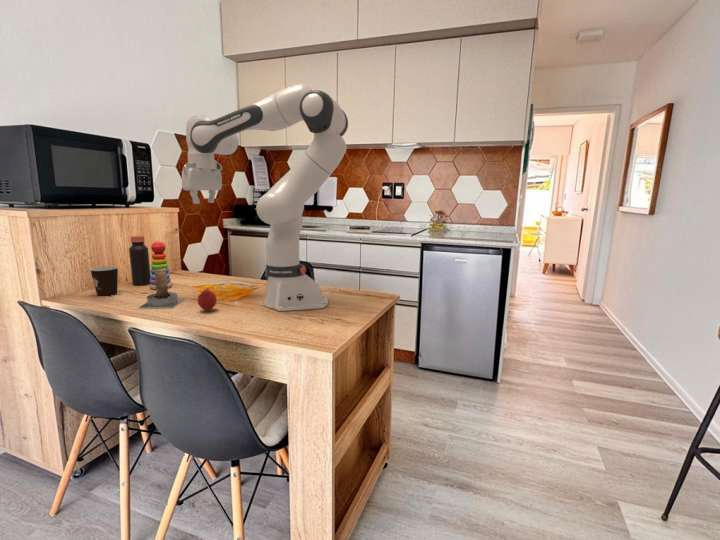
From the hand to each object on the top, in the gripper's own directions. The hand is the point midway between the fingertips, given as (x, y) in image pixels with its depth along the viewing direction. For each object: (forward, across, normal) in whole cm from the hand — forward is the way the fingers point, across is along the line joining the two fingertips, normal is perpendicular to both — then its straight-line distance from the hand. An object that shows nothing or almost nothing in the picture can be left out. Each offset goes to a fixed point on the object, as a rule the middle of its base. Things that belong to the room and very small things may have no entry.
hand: (204, 203), depth 145 cm
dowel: (+34, -17, +8) cm, 38 cm away
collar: (+34, -17, +8) cm, 39 cm away
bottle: (+34, +6, +35) cm, 49 cm away
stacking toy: (+34, +3, +24) cm, 42 cm away
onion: (+34, -21, -12) cm, 42 cm away
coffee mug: (+34, -10, +37) cm, 51 cm away
